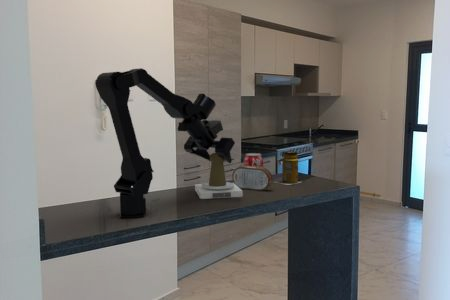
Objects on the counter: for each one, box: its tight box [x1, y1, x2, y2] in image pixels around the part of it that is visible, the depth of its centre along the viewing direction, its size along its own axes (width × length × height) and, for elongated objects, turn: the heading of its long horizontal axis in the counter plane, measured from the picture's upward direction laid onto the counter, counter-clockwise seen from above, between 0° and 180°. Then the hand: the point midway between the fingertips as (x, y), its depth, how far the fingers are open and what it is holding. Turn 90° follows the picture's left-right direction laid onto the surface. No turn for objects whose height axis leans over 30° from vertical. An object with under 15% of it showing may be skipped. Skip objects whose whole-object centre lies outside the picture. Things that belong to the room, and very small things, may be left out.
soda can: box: [243, 152, 264, 167], centre depth 152 cm, size 7×7×12 cm
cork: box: [208, 152, 227, 187], centre depth 140 cm, size 6×6×11 cm
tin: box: [231, 164, 274, 192], centre depth 147 cm, size 15×3×8 cm, turn 61°
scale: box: [194, 181, 243, 200], centre depth 140 cm, size 14×14×3 cm
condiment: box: [275, 150, 302, 186], centre depth 159 cm, size 7×8×12 cm
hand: (220, 160), depth 141 cm, fingers open, 9 cm apart
